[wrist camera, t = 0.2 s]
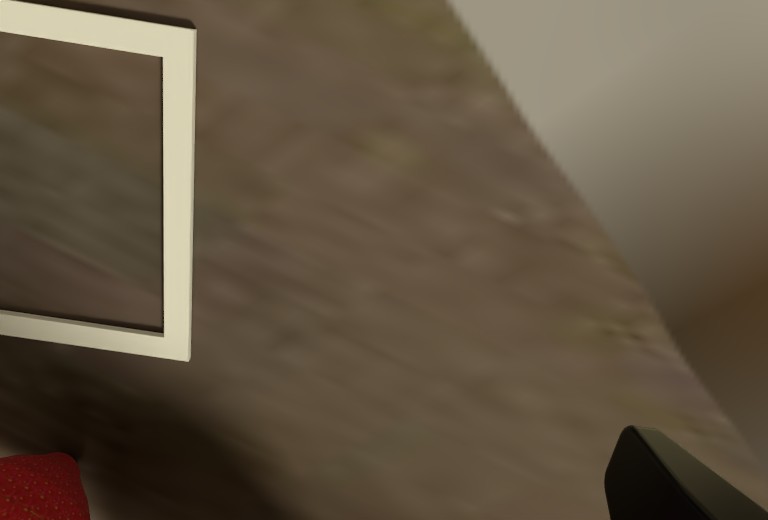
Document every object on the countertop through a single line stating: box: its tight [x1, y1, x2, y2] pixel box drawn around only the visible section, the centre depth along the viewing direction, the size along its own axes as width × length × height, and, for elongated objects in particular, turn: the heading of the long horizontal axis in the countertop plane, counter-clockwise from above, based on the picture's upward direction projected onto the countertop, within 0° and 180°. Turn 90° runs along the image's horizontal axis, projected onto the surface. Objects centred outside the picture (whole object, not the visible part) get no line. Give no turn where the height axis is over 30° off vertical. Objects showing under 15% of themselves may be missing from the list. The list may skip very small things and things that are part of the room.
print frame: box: [0, 0, 197, 361], centre depth 22 cm, size 13×11×1 cm
